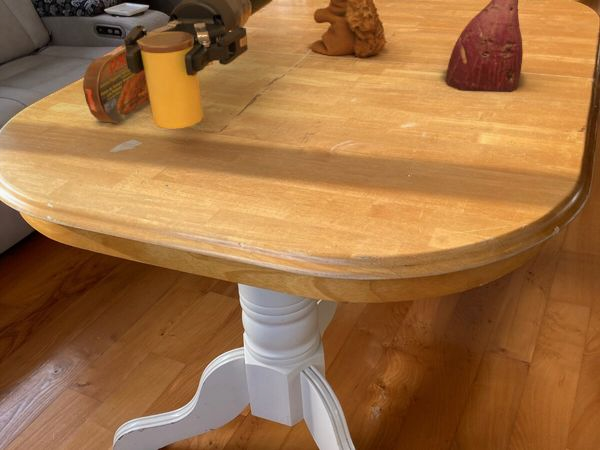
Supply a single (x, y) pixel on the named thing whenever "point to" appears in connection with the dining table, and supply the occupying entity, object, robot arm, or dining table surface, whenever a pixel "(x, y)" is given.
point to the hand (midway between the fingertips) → (160, 65)
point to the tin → (113, 87)
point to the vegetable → (488, 51)
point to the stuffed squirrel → (350, 29)
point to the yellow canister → (170, 80)
